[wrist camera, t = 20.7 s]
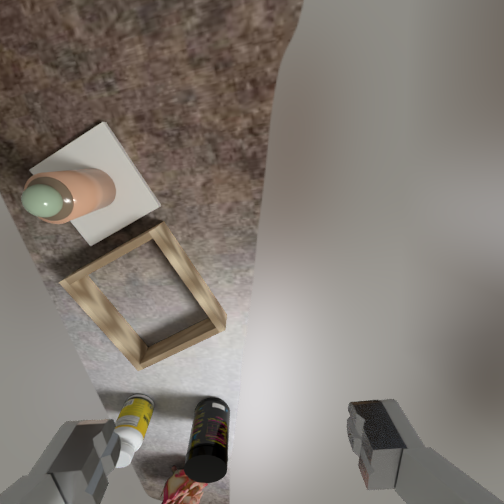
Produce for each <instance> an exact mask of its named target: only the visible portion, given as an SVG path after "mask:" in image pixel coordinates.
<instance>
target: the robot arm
mask: <svg viewBox="0 0 504 504" xmlns="http://www.w3.org/2000/svg"><path fill="white" fill-rule="evenodd" d="M348 411H349V413H350V417H349V418H348V419H347V431H348V437H349V441H350V444H351V447H352V450H353V452H354V453H355V454H356V455H358V456H359V469H360V472H361V474H362V477H363V480H364V482H365V485H366V488H367V490H377V489H378V490H379V489H395V491H396V492H397V493H398V495H399V496H400V497H401V498H402V499H403V500H404V501H405V502H406V503H407V504H504V502H503V501H501V500H500V499H499V498H497V497H496V496H495V495H493V494H492V493H491V492H489V491H488V490H487V489H485V488H484V487H483V486H481V485H480V484H479V483H477V482H476V481H475V480H473V479H472V478H471V477H469V476H468V475H467V474H466V473H464V472H463V471H461V470H460V469H459V468H457V467H456V466H454V464H452V463H451V462H449V461H448V460H447V459H446V458H444V457H443V456H442V455H440V454H439V453H437V452H436V451H435V450H434V449H432V448H431V447H425V445H424V444H423V442H422V441H421V439H420V437H419V436H418V434H417V433H416V431H415V429H414V428H413V426H412V425H411V423H410V422H409V420H408V418H407V417H406V415H405V413H404V412H403V410H402V409H401V407H400V406H399V404H398V402H397V401H396V400H394V399H387V400H368V401H358V402H350V403H349V406H348ZM115 427H116V425H115V422H114V420H113V419H106V420H81V421H67V422H65V423H64V424H63V425H62V426H61V427H60V428H59V430H58V432H57V433H56V434H55V436H54V437H53V439H52V440H51V442H50V443H49V445H48V446H47V448H46V449H45V451H44V452H43V454H42V455H41V457H40V458H39V460H38V461H37V462H36V464H35V465H34V467H33V468H32V470H31V471H30V473H29V474H28V475H26V476H22V477H21V478H20V479H18V480H17V481H16V482H15V483H13V484H12V485H11V486H10V487H8V488H7V489H6V490H5V491H3V492H2V493H1V494H0V504H100V503H101V501H102V498H103V496H104V494H105V491H106V489H107V486H108V484H109V483H108V478H107V476H108V475H109V474H110V472H112V470H114V468H115V467H116V464H117V462H118V459H119V455H120V450H121V440H120V437H119V435H118V434H117V433H115V432H114V429H115Z"/></svg>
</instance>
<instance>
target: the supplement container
mask: <svg viewBox="0 0 504 504" xmlns="http://www.w3.org/2000/svg"><path fill="white" fill-rule="evenodd" d="M229 422H230V409H229V407H228V405H227V404H226V403H225V402H224V401H222V400H220V399H217V398H208V399H205V400H203V401H201V402H200V403H199V404H198V405H197V407H196V409H195V413H194V419H193V424H192V429H191V434H190V440H189V445H188V450H187V454H186V459H185V465H184V472H185V474H186V476H187V477H188V478H190V479H191V480H193V481H196V482H200V483H212V482H216V481H218V480H220V479H222V478H223V477H224V476H225V474H226V472H227V462H228V440H229Z"/></svg>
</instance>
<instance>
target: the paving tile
mask: <svg viewBox="0 0 504 504" xmlns="http://www.w3.org/2000/svg"><path fill="white" fill-rule="evenodd" d="M87 168H96V169H99V170H102V171H104V172H105V173H107V174H108V175H109V176H110V177H111V178H112V180H113V182H114V184H115V187H116V196H115V199H114V201H113V202H112V203H111V204H110V205H109V206H107V207H104V208H102V209H99V210H96V211H94V212H91V213H89V214H86V215H84V216H81V217H78V218H76V219H73V220H71V223H72V224H73V225H74V226H75V228H76V229H77V230H78V231H79V233H80V234H81V235H82V236H83V238H84V239H85V240H86V241H87V243H88V244H89V245H90V246H92V245H94V244H96V243H97V242H99V241H101V240H103V239H104V238H106V237H108V236H110V235H111V234H113V233H115V232H117V231H118V230H120V229H122V228H123V227H125V226H127V225H129V224H130V223H132V222H134V221H136V220H137V219H139V218H141V217H143V216H144V215H146V214H148V213H150V212H151V211H153V210H155V209H157V208H158V207H160V206H161V204H160V203H159V201H158V200H157V198H156V197H155V195H154V194H153V192H152V191H151V189H150V188H149V186H148V185H147V183H146V182H145V180H144V179H143V177H142V176H141V174H140V173H139V171H138V170H137V168H136V167H135V165H134V163H133V162H132V160H131V159H130V157H129V156H128V154H127V153H126V151H125V150H124V148H123V147H122V145H121V144H120V142H119V141H118V139H117V138H116V136H115V135H114V133H113V132H112V130H111V129H110V127H109V126H108V124H107V123H106V122H102V123H100V124H99V125H97V126H96V127H94V128H93V129H91V130H89V131H88V132H86V133H85V134H83V135H82V136H80V137H79V138H77V139H76V140H74V141H73V142H71V143H70V144H68V145H66V146H65V147H63V148H62V149H60V150H59V151H57V152H56V153H54V154H53V155H51V156H50V157H48V158H47V159H45V160H43V161H42V162H40V163H39V164H37V165H36V166H34V167H33V168H31V169H30V172H31V173H32V174H33V175H35V174H38V173H44V172H55V171H66V170H76V169H87Z"/></svg>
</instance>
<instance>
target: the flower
mask: <svg viewBox="0 0 504 504" xmlns="http://www.w3.org/2000/svg"><path fill="white" fill-rule="evenodd" d="M171 469H172V471H173V474H174V475H173V476H172V477H171V478H169V479H168V480H167V481H166V483H165V486H164V489H163V491H162V494H163V492H164V500H163V502H162V504H199V502H200V498H201V496H202V495H203V492H202V489H203V488H204V487H205V486H207V485H208V484H207V483H200V482H196V481H193V480H191V479H190V478H188V477H187V476H186V474H185V472H184V469H180V470H177V468H176V466H173V467H172V468H171ZM162 494H161V496H162ZM161 496H160V497H161Z"/></svg>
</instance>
